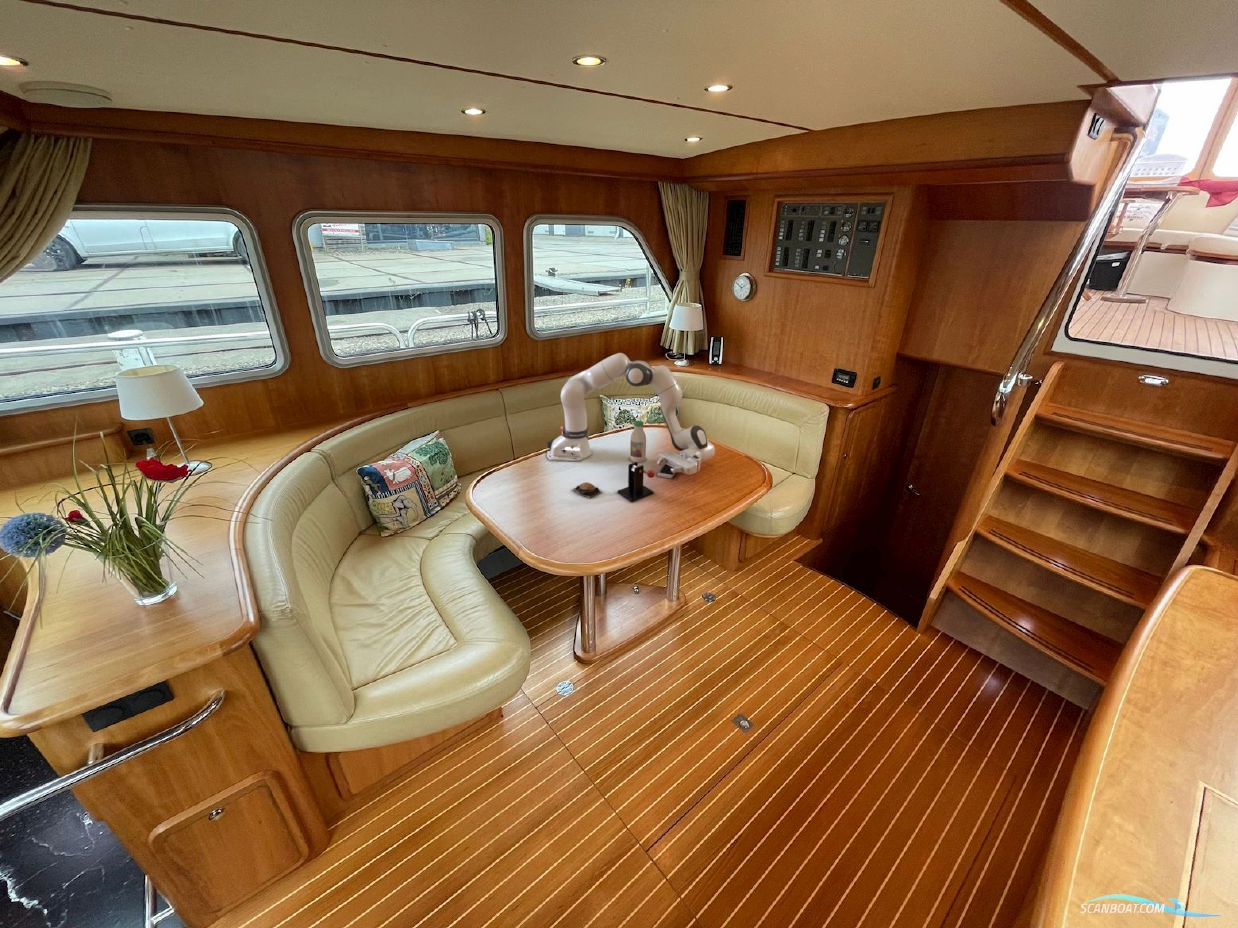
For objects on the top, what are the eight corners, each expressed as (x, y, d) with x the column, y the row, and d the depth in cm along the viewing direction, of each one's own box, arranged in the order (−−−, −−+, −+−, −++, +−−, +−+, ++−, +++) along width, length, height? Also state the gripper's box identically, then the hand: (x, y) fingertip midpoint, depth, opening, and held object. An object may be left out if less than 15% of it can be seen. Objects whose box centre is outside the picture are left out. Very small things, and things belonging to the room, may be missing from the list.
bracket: (638, 485, 216) (639, 457, 210) (653, 493, 209) (654, 465, 203) (617, 492, 210) (617, 464, 204) (631, 502, 202) (632, 473, 196)
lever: (649, 476, 214) (652, 469, 213) (654, 479, 211) (657, 472, 211) (629, 470, 205) (632, 462, 204) (634, 473, 202) (638, 465, 202)
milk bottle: (637, 454, 245) (638, 418, 236) (648, 459, 240) (649, 422, 231) (627, 459, 240) (627, 421, 231) (638, 464, 235) (639, 426, 226)
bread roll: (571, 491, 211) (571, 483, 210) (585, 484, 217) (585, 477, 215) (588, 499, 205) (588, 491, 203) (602, 492, 210) (602, 484, 209)
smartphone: (657, 476, 224) (657, 474, 223) (666, 462, 237) (666, 460, 236) (671, 478, 221) (672, 476, 221) (680, 464, 234) (680, 463, 234)
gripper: (671, 445, 228) (649, 452, 221) (703, 460, 214) (680, 468, 206) (671, 457, 231) (649, 465, 224) (702, 472, 216) (679, 481, 209)
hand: (664, 467), depth 215 cm, fingers open, 8 cm apart
